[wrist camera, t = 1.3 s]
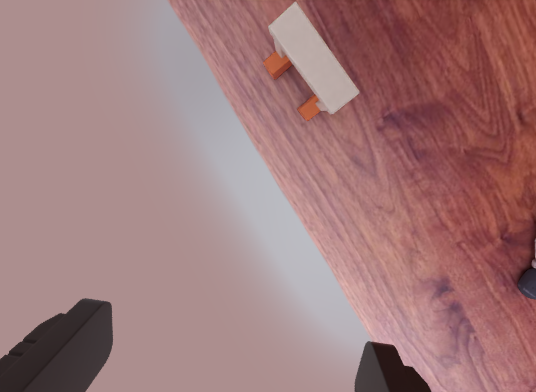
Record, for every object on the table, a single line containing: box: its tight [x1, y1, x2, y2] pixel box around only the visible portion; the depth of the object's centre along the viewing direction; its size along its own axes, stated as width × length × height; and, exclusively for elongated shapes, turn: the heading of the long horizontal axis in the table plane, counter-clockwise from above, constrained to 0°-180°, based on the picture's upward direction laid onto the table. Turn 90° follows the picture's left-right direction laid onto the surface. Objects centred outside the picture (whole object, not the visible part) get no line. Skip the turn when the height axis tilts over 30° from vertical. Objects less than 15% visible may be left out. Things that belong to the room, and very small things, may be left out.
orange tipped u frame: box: [263, 2, 360, 121], centre depth 23 cm, size 6×4×13 cm
